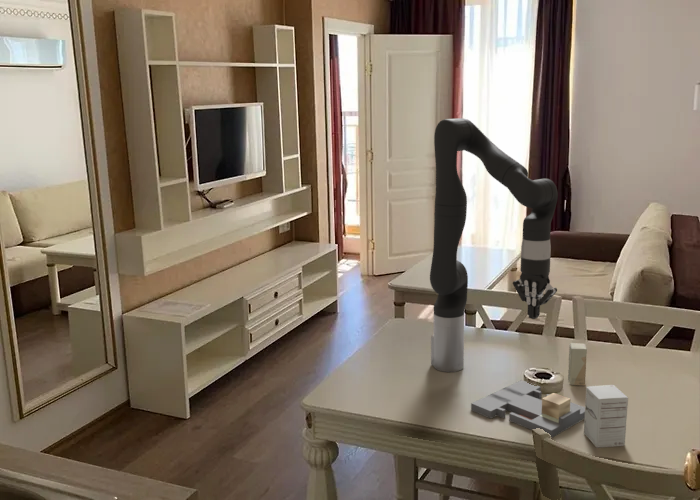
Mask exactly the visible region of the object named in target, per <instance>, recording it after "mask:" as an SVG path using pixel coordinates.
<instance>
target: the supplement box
mask: <svg viewBox="0 0 700 500" xmlns="http://www.w3.org/2000/svg"><path fill="white" fill-rule="evenodd" d="M628 404H629V397H628V396H627V395H626V394H625V393H624V392H623V391H622V390H620V389H619V388H618V387H617V385H614V384H605V385H603V384H602V385H590V386H586V388H585V404H584V407H585V418H584V419H583V420H584V421H583V422H584V424H583V434H584V435H585V436H586V437H587V438H588V439H589V441H591V443H592V444H593V445H594V447H596V448H609V447H623V446H625V444H626V432H627V431H626V430H627V418H628V407H629V405H628Z"/></svg>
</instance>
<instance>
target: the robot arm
mask: <svg viewBox="0 0 700 500" xmlns="http://www.w3.org/2000/svg"><path fill="white" fill-rule="evenodd" d="M433 139H434V142H433V144H434V157H435V159H434V160H435V196H434V197H435V198H434V218H433V219H434V221H433V222H434V225H433V248H432V249H433V250H432V258H431V265H430V271H429V272H430V273H429V282H430V285H431V288H432V290H433V291H434V292H435V293H436V294H437V298H436V300H435V302H434V303H433V304H434V305H433V334H432V335H431V336H430V366H433V368H434V369H435V370H437V371H440V372H447V373H455V372H459V371H461V370H463V369H464V363H465V362H464V361H465V359H464V357H465V352H464V350H465V309H466V305H467V302H468V284H469V283H468V282H469V281H468V279H469V276H468V271H467V268H466V266H465V265H464V264H463V263H462V262H461V261H459V260H457V256H458V249H459V248H458V247H459V244H460V242H461V239H462V234H463V232H464V228H465V225H466V220H467V209H468V208H467V206H468V196H467V192H466V190H465V187H464V185H463V182H462V181H461V179H460V177H459V173H458V168H457V167H458V166H457V164H458V163H457V162H458V161H457V160H458V159H457V157H458V152H463V151H465V152H468V153H470V154H472V155H474V156H475V157H477V158H479V160H480V161H481V163H482V164H483V166H484V169H485V170H486V172H488V174H489V175H490V176H491V177H492V178H493V179H495V180H496V181H497V182H499V183H500V184H501V185H503V186H504V187H505V188H507V189H508V190H509V192H510V193H511V195H512V196H513V197H514V198H515V200H516V201H517V202H518V203H519V204H521V205H522V206H524V207H526V208H528V209H531V212H530V214H528V215H527V216H526V217H525V218H524V219H523V222H522V239H521V245H520V275H519V278H518V279H516V280H514V281H513V282H512V285H513V286H514V289H515V290H516V292H517V295H518V297H519V298H520V300H521V301H522V302H525V303H526V304H527V316H528V318H529V319H532V320H536V319H538V318H539V317H540V311H541V306H542V305H545V304H547V303H548V302H549V301H550V300H551V299H552V298H553V296H554V295H555V294H556V293H557V291H558V289H557V287H553V286H552V285H551V280H550V273H551V256H552V255H551V249H552V247H551V229H552V228H551V226H552V225H551V223H552V220H553V218H554V214H555V210H556V207H557V202H558V195H559V194H558V189H557V188H558V187H557V186H556V184H555V182H554V181H553V180H552V179H549V178H539V179H534V180H533V179H531V178H529V177H528V176H529V172H528V169H527V168H526V167H525V166H524V165H522V164H521V163H520V162H518V161H517V160H515V159H514V158H512V157H511V156H510V155H508V154H506V153H505V152H504V151H503V150H501V149H500V148H499V147H498V146H497V145H496V144H494V143H493V141H491V139H490V138H488V137H487V136H486V134H484V133H483V132H482V131H481V130H480V128H478V126H477V125H476V124H474V123H473V122H472V121H471V120H469V119H466V118H464V117H463V118H461V117H459V118H445V119H441V120H440V121H439V122H438V123H437V124H436V127H435V130H434V138H433Z"/></svg>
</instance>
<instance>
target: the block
mask: <svg viewBox="0 0 700 500" xmlns="http://www.w3.org/2000/svg"><path fill="white" fill-rule="evenodd" d="M549 394H550V395H548V396H546V395H545V396H544V397H541V400H542V413H543V414H546V415H548V416H551V417H553V418H556V419H559V417H561V416H563V415H564V414H566V413H568V412H570V402H571V398H569V397H567V396H563V395H561V394H558V393H556V392H552V393H549Z"/></svg>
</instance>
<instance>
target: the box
mask: <svg viewBox="0 0 700 500" xmlns="http://www.w3.org/2000/svg"><path fill="white" fill-rule="evenodd" d="M568 350H569V351H568V352H569V353H568V370H567V371H568V375H567V380H568V383H569V385H570V386H586V372H587V353H588V351H587V350H588V349H587V346H586V343H579V342H578V343H577V342H576V343H575V342H570V343H569V349H568Z"/></svg>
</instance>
